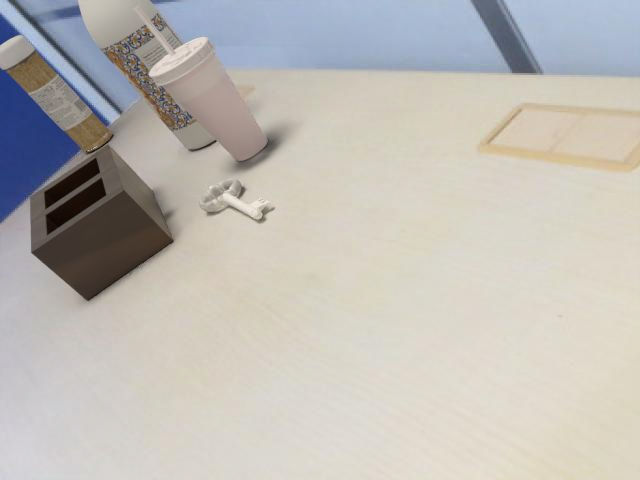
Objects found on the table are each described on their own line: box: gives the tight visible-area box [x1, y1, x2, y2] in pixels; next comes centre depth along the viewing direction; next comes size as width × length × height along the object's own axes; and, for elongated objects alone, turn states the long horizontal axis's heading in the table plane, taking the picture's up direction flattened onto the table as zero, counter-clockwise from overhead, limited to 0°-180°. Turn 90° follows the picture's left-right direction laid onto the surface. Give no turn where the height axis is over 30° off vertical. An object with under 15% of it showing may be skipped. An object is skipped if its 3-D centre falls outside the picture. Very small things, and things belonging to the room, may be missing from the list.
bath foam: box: [77, 0, 217, 150], centre depth 76 cm, size 7×7×20 cm
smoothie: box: [134, 6, 269, 162], centre depth 69 cm, size 6×6×14 cm
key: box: [198, 177, 271, 220], centre depth 66 cm, size 12×1×4 cm
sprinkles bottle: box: [0, 34, 113, 154], centre depth 94 cm, size 5×5×13 cm
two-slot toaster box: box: [29, 144, 174, 301], centre depth 70 cm, size 17×9×6 cm, turn 34°
